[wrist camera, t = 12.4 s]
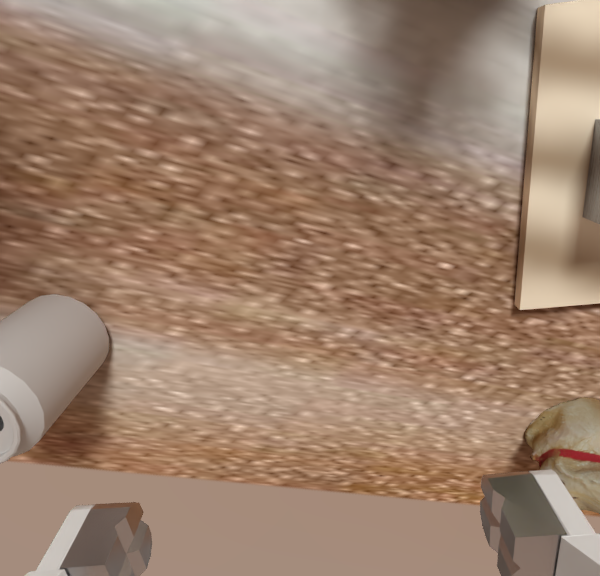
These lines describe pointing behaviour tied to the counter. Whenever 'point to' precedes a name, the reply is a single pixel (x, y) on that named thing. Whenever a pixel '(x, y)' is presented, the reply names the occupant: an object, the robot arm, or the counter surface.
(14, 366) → the can
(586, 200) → the hollow square tube
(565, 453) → the chocolate bunny
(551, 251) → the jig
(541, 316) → the counter surface
